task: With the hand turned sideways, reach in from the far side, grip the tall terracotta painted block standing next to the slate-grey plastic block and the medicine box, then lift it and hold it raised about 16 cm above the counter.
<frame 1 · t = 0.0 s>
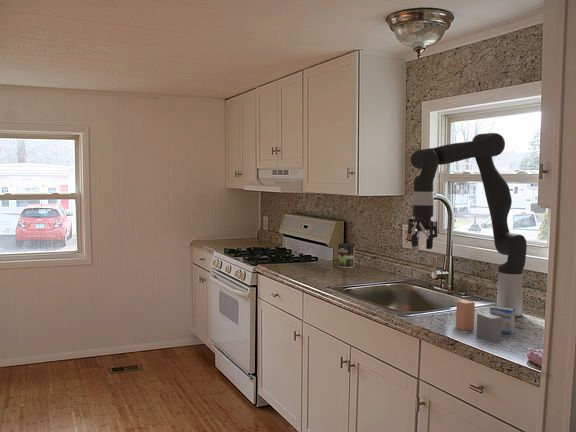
hand: (421, 247, 205), 29 cm above the worktop, tool pointing down, fingers open, 8 cm apart
terracotta block: (464, 328, 203), on the worktop
clear container: (346, 267, 339), on the worktop
slate-grey plastic block: (488, 338, 191), on the worktop
medicine box: (501, 331, 200), on the worktop
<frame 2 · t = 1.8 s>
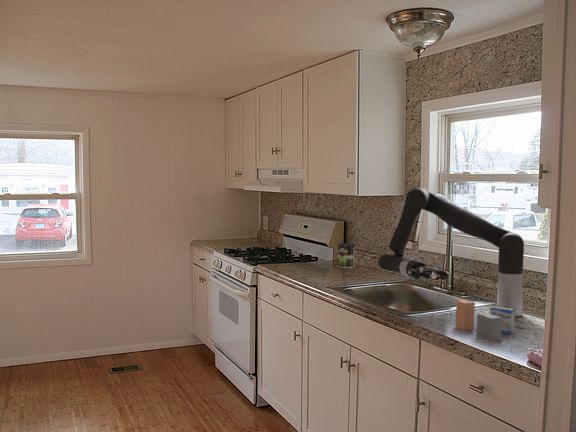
hand: (438, 275, 216), 17 cm above the worktop, tool horizontal, fingers open, 8 cm apart
nothing on the worktop moved.
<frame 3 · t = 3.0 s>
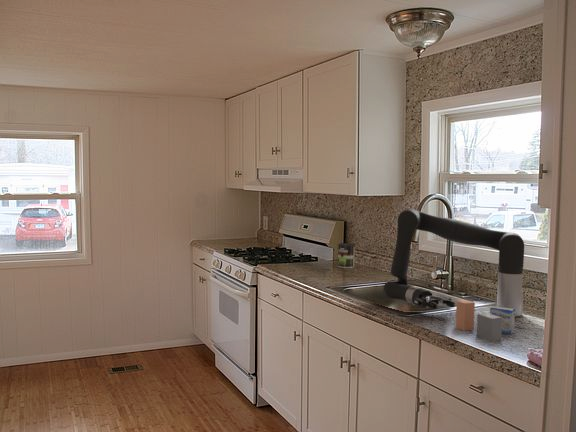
hand: (445, 305, 213), 6 cm above the worktop, tool horizontal, fingers open, 8 cm apart
nothing on the worktop moved.
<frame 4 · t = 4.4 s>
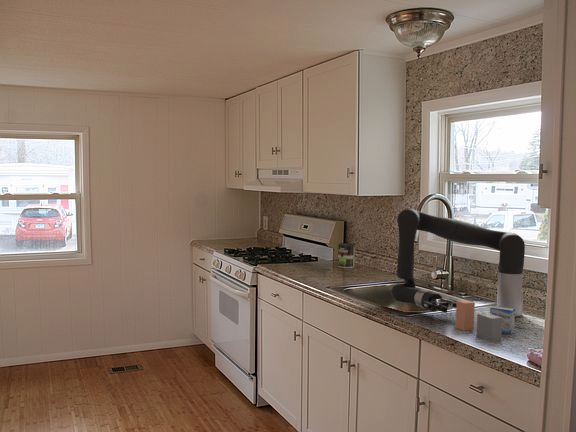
hand: (455, 309, 208), 6 cm above the worktop, tool horizontal, fingers open, 8 cm apart
nothing on the worktop moved.
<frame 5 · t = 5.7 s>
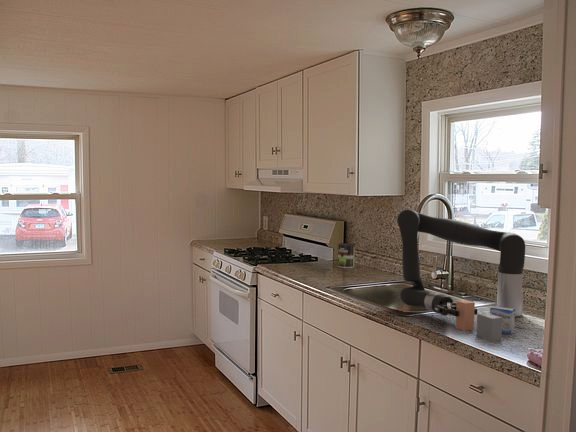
hand: (467, 313, 202), 6 cm above the worktop, tool horizontal, fingers open, 8 cm apart
nothing on the worktop moved.
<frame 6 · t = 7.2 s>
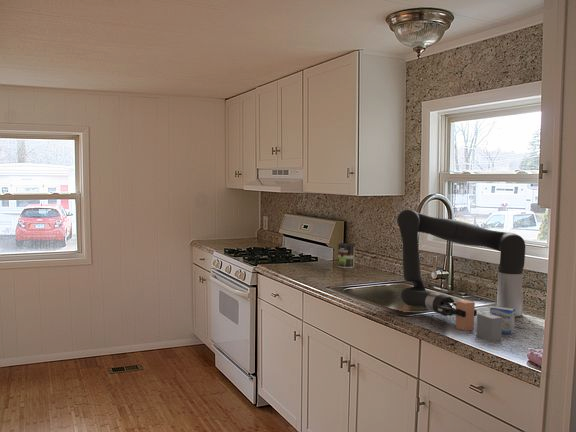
hand: (470, 313, 201), 6 cm above the worktop, tool horizontal, fingers closed on terracotta block, 4 cm apart
terracotta block: (464, 328, 203), on the worktop, touching gripper
everything else where it was.
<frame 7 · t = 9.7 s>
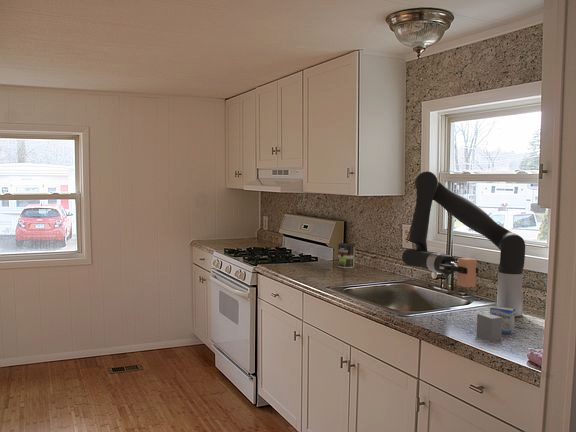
hand: (472, 270, 199), 22 cm above the worktop, tool horizontal, fingers closed on terracotta block, 4 cm apart
terracotta block: (466, 285, 202), point 16 cm above the worktop, touching gripper
everything else where it was.
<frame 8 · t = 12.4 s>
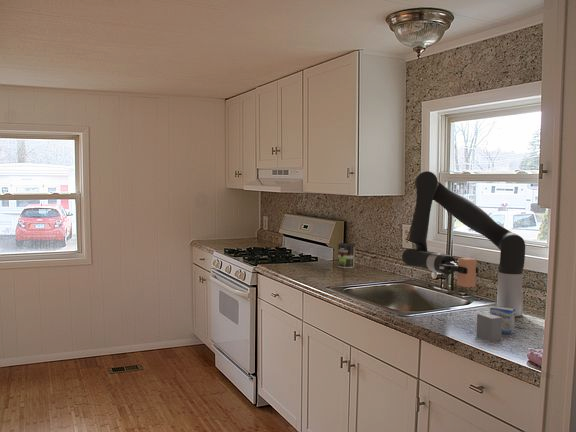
hand: (472, 270, 199), 22 cm above the worktop, tool horizontal, fingers closed on terracotta block, 4 cm apart
terracotta block: (466, 285, 202), point 16 cm above the worktop, touching gripper
everything else where it was.
at the end: the gripper is holding terracotta block; terracotta block point 15.9 cm above the worktop; slate-grey plastic block moved 0.1 cm from its start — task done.
